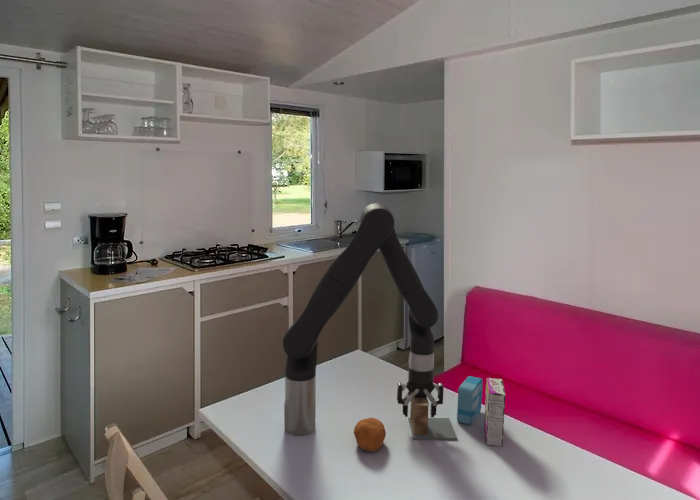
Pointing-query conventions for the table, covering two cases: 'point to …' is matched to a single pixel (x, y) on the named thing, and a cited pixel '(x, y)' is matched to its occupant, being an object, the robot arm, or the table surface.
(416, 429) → the slab
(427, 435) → the mat
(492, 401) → the candy bar box
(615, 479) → the table surface
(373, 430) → the potato
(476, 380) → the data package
